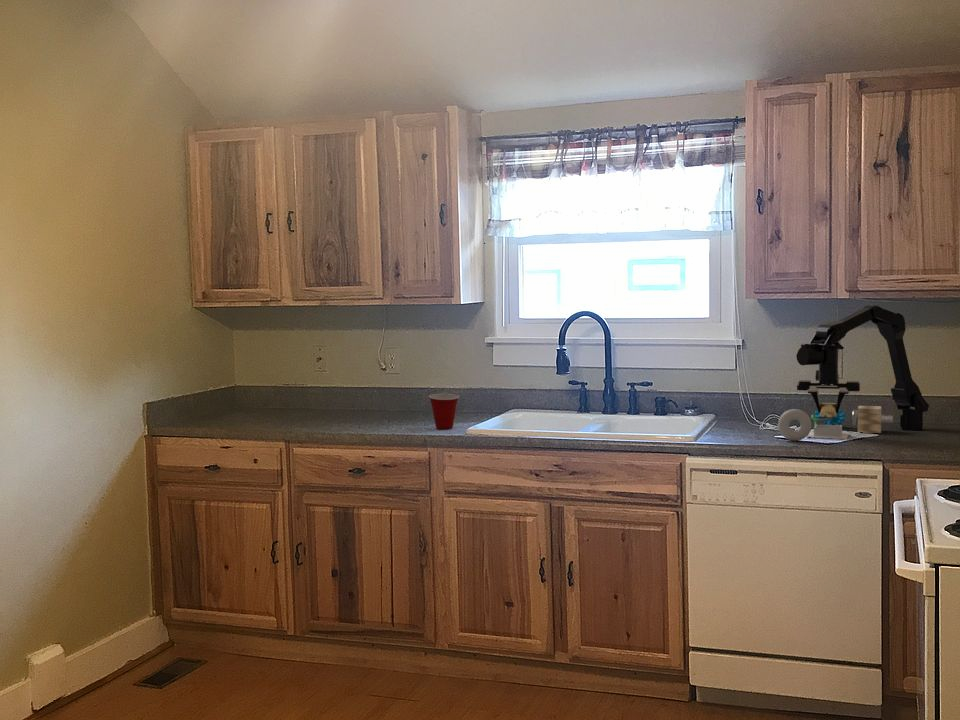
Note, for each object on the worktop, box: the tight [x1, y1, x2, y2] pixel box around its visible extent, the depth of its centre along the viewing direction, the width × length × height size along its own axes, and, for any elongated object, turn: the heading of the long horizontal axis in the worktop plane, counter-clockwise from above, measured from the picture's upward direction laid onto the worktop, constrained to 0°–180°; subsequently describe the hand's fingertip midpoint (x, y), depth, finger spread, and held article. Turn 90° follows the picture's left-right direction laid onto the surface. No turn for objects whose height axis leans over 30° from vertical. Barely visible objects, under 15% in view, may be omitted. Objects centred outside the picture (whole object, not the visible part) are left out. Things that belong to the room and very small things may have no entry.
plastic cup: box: [428, 393, 460, 431], centre depth 352 cm, size 11×11×12 cm
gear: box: [810, 408, 846, 428], centre depth 338 cm, size 11×6×10 cm
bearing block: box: [857, 405, 882, 434], centre depth 326 cm, size 7×8×8 cm
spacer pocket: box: [806, 424, 850, 440], centre depth 318 cm, size 12×12×3 cm
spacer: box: [819, 402, 837, 417], centre depth 318 cm, size 5×5×4 cm
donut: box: [777, 408, 813, 442], centre depth 310 cm, size 10×3×10 cm, turn 77°
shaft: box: [851, 409, 894, 426], centre depth 326 cm, size 12×5×5 cm, turn 67°
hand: (828, 412), depth 318 cm, fingers closed on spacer, 5 cm apart
